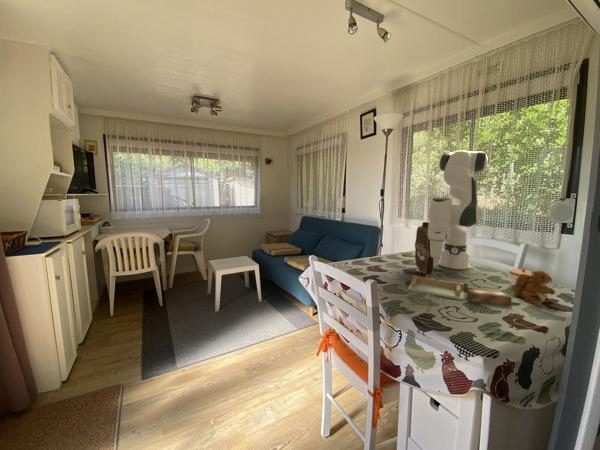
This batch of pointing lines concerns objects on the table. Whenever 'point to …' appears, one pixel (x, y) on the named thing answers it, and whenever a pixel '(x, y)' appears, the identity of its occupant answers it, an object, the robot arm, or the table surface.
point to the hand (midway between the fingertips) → (436, 262)
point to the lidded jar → (517, 274)
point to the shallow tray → (437, 287)
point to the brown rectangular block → (489, 297)
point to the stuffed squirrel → (534, 287)
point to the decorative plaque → (423, 250)
